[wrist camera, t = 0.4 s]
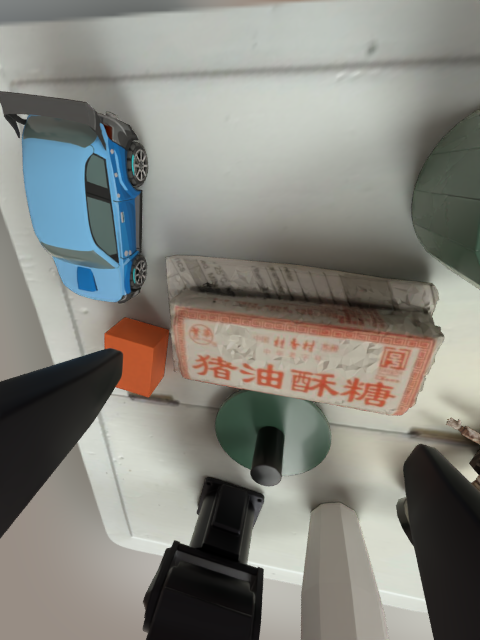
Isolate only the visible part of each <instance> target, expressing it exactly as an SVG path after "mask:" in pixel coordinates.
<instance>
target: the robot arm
mask: <svg viewBox="0 0 480 640" xmlns="http://www.w3.org/2000/svg"><path fill="white" fill-rule="evenodd" d="M122 370H123V353H122V352H121V351H119V350H116V349H112V348H107V349H104V350H101V351H98V352H94V353H91V354H88V355H85V356H81V357H78V358H75V359H72V360H69V361H65V362H62V363H59V364H56V365H52V366H50V367H46V368H43V369H40V370H36V371H33V372H30V373H27V374H23V375H20V376H17V377H14V378H11V379H7V380H4V381H1V382H0V538H1V537H2V536H3V534H4V533H5V532H6V531H7V529H8V528H9V527H10V526H11V524H12V523H13V522H14V520H15V519H16V518H17V517H18V516H19V514H20V513H21V512H22V511H23V509H24V508H25V507H26V506H27V504H28V503H29V502H30V500H31V499H32V498H33V497H34V496H35V494H36V493H37V492H38V491H39V489H40V488H41V487H42V486H43V484H44V483H45V482H46V481H47V479H48V478H49V477H50V476H51V474H52V473H53V472H54V470H55V469H56V468H57V467H58V466H59V464H60V463H61V462H62V460H63V459H64V458H65V457H66V456H67V454H68V453H69V452H70V451H71V449H72V448H73V447H74V446H75V444H76V443H77V442H78V441H79V439H80V438H81V437H82V436H83V434H84V433H85V432H86V431H87V429H88V428H89V427H90V425H91V424H92V423H93V421H94V420H95V418H96V417H97V415H98V414H99V412H100V411H101V409H102V408H103V406H104V404H105V403H106V401H107V400H108V398H109V397H110V395H111V393H112V392H113V390H114V389H115V387H116V386H117V384H118V382H119V381H120V379H121V376H122ZM403 472H404V481H405V490H406V499H407V508H408V517H409V524H410V529H411V535H412V539H413V544H414V549H415V553H416V558H417V563H418V567H419V572H420V577H421V581H422V586H423V591H424V595H425V600H426V605H427V609H428V614H429V618H430V623H431V628H432V633H433V637H434V640H480V492H479V491H478V490H477V489H476V488H475V487H474V486H473V485H472V484H471V483H470V482H469V481H468V480H467V479H466V478H465V477H464V476H463V475H462V474H461V473H460V472H459V471H458V470H457V469H456V468H455V467H454V466H453V465H452V464H451V463H450V462H449V461H448V460H447V459H446V458H445V457H444V456H443V455H442V454H441V453H440V452H439V451H438V450H437V449H435V448H433V447H430V446H427V445H424V444H419V445H417V446H416V447H415V448H414V450H413V451H412V453H411V454H410V456H409V457H408V458H407V460H406V461H405V463H404V468H403ZM263 503H264V496H263V495H262V494H259V493H256V492H253V491H250V490H247V489H244V488H241V487H238V486H235V485H232V484H229V483H226V482H223V481H220V480H217V479H214V478H210V477H207V478H206V479H205V482H204V486H203V490H202V494H201V498H200V502H199V506H198V510H197V514H198V515H199V517H198V520H197V523H196V526H195V529H194V533H193V536H192V539H191V542H190V545H189V546H187V545H184V544H181V543H180V542H179V541H175V540H174V542H173V545H172V547H171V548H167V549H166V550H165V553H164V556H163V559H162V561H161V564H160V566H159V569H158V571H157V573H156V575H155V577H154V579H153V581H152V583H151V584H150V586H149V588H148V590H147V592H146V594H145V597H144V600H143V603H144V607H145V610H146V611H145V617H144V618H145V621H144V625H143V631H144V632H147V633H148V635H147V638H146V640H259V634H260V626H261V610H262V592H263V572H264V569H263V568H260V567H258V568H256V567H253V566H250V565H247V561H248V554H249V548H250V541H251V535H252V529H253V527H254V524H255V522H256V520H257V517H258V515H259V512H260V510H261V508H262V505H263Z"/></svg>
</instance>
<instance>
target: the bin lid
mask: <svg viewBox="0 0 480 640" xmlns="http://www.w3.org/2000/svg"><path fill="white" fill-rule="evenodd" d="M215 430H216V435H217V438H218V441H219V443H220V445H221V446H222V448H223V449H224V451H225V452H226V453H227V454H228V455H229V456H230V457H231V458H232V459H233V460H235V461H236V462H237V463H239V464H241V465H242V466H244V467H246V468H248V469H250V470H251V471H250V474H251V477H252V479H253V480H254V481H255V482H257V483H258V484H260V485H263V486H274V485H277V484H278V483H279V482H280V481H281V477H282V476H292V475H297V474H301V473H304V472H307V471H309V470H311V469H313V468H314V467H316V466H317V465H318V464H320V463H321V462H322V461H323V459H324V458H325V457H326V455H327V454H328V451H329V449H330V445H331V432H330V426H329V424H328V421H327V419H326V417H325V415H324V414H323V413H322V411H321V410H320V409H319V408H318V407H317V406H316V405H315V404H314V403H313V402H312V401H309V400H303V399H297V398H292V397H286V396H281V395H275V394H269V393H263V392H258V391H252V390H245V389H243V390H240V391H238V392H236V393H234V394H233V395H231V396H230V397H229V398H228V399H227V400H225V402H224V403H223V404H222V405H221V407H220V409H219V411H218V414H217V417H216V422H215Z"/></svg>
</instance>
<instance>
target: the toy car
mask: <svg viewBox="0 0 480 640" xmlns="http://www.w3.org/2000/svg"><path fill="white" fill-rule="evenodd" d="M0 103H1V105H2V108H3V113H4V117H5V119H6V120H7V121H8V122H9V123H10V124H11V126H12V127H13V128H14V130H15V131H16V134H17V136H18V138H20V132H19V129H18V126H17V123H16V121H17V122H19V123H21V124H23V125H25V126H24V129H23V134H22V155H23V174H24V183H25V190H26V196H27V201H28V207H29V211H30V216H31V220H32V224H33V228H34V231H35V234H36V236H37V237H38V239H39V241H40V243H41V245H42V246H43V248H44V249H45V250H46V251H47V252H48V253H49V254H50V255H51V256H52V257H53V259H54V261H55V264H56V266H57V269H58V272H59V275H60V277H61V279H62V282H63V283H64V285H65V286H66V287H68V288H69V289H70V290H71V291H73V292H75V293H76V294H78V295H81V296H84V297H87V298H91V299H95V300H101V301H108V302H118V303H124V302H127V301H128V300H129V299H131V298H132V297H134V296H136V295H137V294H138V293H139V292H140V289H141V287H140V286H142V284H143V283H144V281H145V278H146V274H147V264H146V260H145V258H144V257H143V256H142V255H138V254H140V253H141V243H142V190H137V189H135V188H134V187H133V186H137V187H139V186H141V185H142V184H143V183H144V181H145V180H146V177H147V172H148V161H147V156H146V152H145V149H144V148H143V146H142V145H141V144H140V143H138V142H132V141H133V140H138V138H137V136H136V134H135V133H134V131H133V130H132V128H131V127H130V126H129V125H127V124H125V123H123V122H121V121H119V120H117V116H116V115H115V114H113V113H110V112H106V115H103V114H99V113H97V112H96V111H95V110H94V108H92V107H91V106H90V105H89V104H88V103H87V102H82V101H75V100H68V99H61V98H53V97H45V96H37V95H29V94H21V93H12V92H2V91H0ZM16 114H27V115H29V116H28V117H27V119H26V120H24V119H22V118H20V117H19V116H17V115H16Z"/></svg>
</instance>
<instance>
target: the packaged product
mask: <svg viewBox="0 0 480 640" xmlns="http://www.w3.org/2000/svg"><path fill="white" fill-rule="evenodd" d="M166 272H167V283H168V299H169V308H170V316H171V327H170V333H171V337H172V352H173V360H174V371H177V372H181V374H182V376H183V377H184V378H186V379H191V380H196V381H201V382H205V383H211V384H216V385H222V386H228V387H233V388H239V389H245V390H252V391H258V392H263V393H269V394H275V395H281V396H286V397H292V398H297V399H303V400H309V401H315V402H321V403H327V404H331V405H338V406H342V407H349V408H355V409H359V410H364V411H369V412H376V413H381V414H386V415H403V414H404V413H405V412H406V411H407V410H408V409H409V408H411V407H412V406H414V405H415V404H416V400H417V396H418V394H419V392H421V391H422V390H423V385H424V381H425V380H426V378H425V376H426V375H427V374H428V373H429V371H430V369H431V366H432V365H433V363H434V362H435V355H436V353H437V351H438V349H439V348H440V346H441V344H442V342H443V341H444V335H443V333H442V332H441V327H438V326H435V325H434V321H433V318H432V315H433V312H434V310H435V307H436V304H437V301H438V300H439V296H438V291H437V289H436V287H435V286H434V285H433V284H432V283H426V282H417V281H407V280H397V279H387V278H381V277H374V276H368V275H362V274H355V273H349V272H343V271H336V270H329V269H322V268H315V267H308V266H301V265H294V264H282V263H271V262H260V261H248V260H237V259H226V258H214V257H203V256H187V255H174V256H169V257H166Z"/></svg>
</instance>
